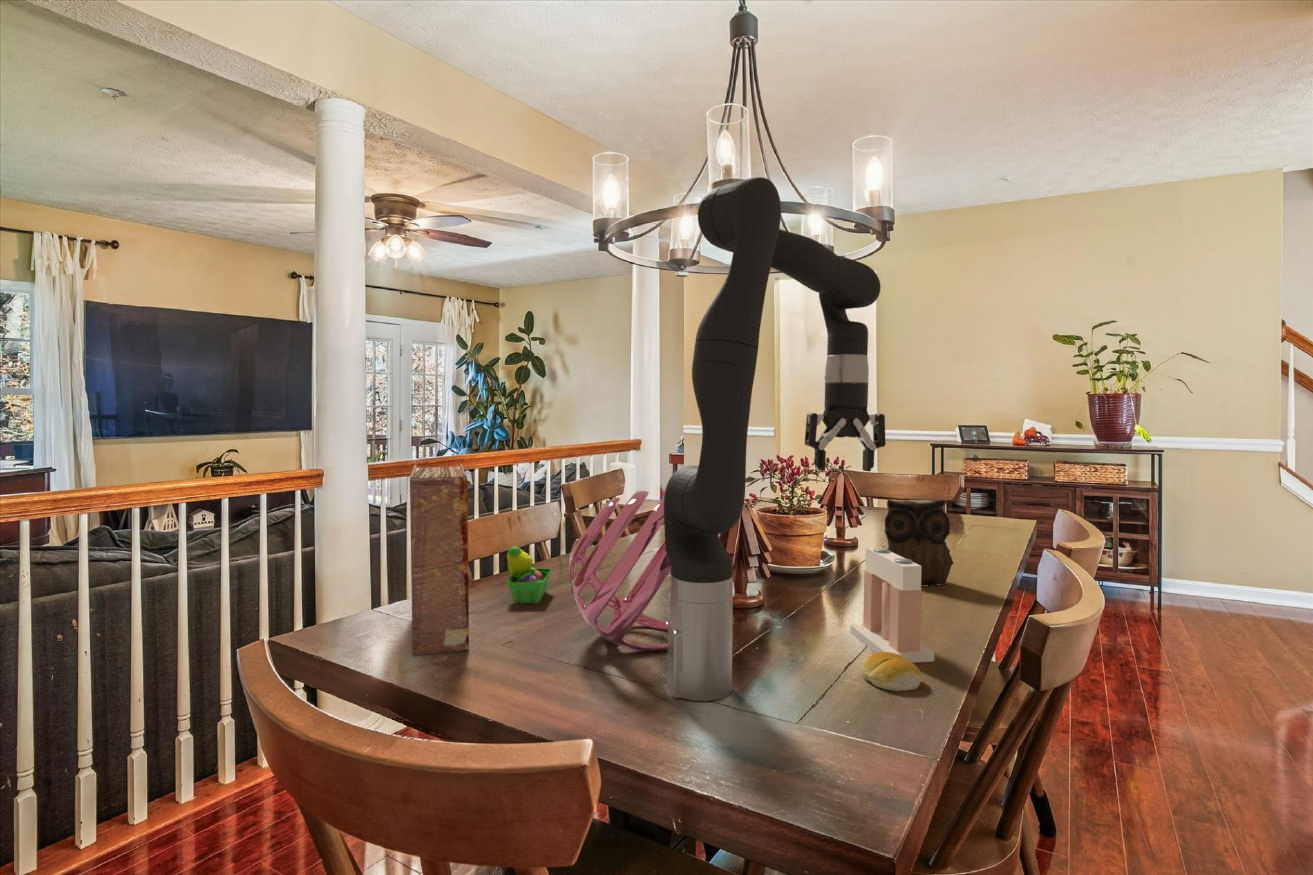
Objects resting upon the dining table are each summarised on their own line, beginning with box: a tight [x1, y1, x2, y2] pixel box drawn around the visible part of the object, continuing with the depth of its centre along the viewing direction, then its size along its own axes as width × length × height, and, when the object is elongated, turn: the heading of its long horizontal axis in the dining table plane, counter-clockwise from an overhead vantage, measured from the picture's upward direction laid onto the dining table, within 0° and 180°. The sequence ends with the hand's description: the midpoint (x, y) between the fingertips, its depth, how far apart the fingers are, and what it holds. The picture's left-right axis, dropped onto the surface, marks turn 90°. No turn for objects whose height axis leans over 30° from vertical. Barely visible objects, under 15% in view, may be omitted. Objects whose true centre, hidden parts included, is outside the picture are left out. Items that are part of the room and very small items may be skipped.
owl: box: [884, 498, 954, 587], centre depth 162 cm, size 13×13×20 cm
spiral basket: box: [568, 490, 671, 652], centre depth 123 cm, size 28×28×27 cm
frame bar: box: [864, 547, 922, 591], centre depth 119 cm, size 14×3×4 cm, turn 8°
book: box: [409, 463, 470, 656], centre depth 127 cm, size 25×9×30 cm, turn 18°
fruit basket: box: [506, 546, 552, 605], centre depth 148 cm, size 11×9×11 cm
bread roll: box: [861, 652, 923, 692], centre depth 106 cm, size 8×9×4 cm
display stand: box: [849, 569, 935, 664], centre depth 120 cm, size 15×8×12 cm, turn 8°
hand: (844, 470), depth 124 cm, fingers open, 8 cm apart
